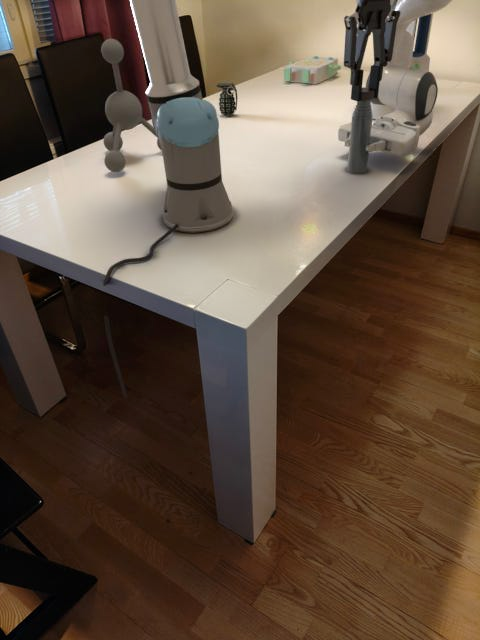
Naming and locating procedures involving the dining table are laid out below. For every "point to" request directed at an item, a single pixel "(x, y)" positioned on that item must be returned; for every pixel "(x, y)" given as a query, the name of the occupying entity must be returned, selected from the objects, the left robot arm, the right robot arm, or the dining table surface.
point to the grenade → (227, 99)
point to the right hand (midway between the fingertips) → (357, 146)
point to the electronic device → (421, 42)
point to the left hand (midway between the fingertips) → (364, 98)
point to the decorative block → (311, 70)
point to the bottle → (360, 137)
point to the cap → (367, 93)
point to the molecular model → (120, 110)
